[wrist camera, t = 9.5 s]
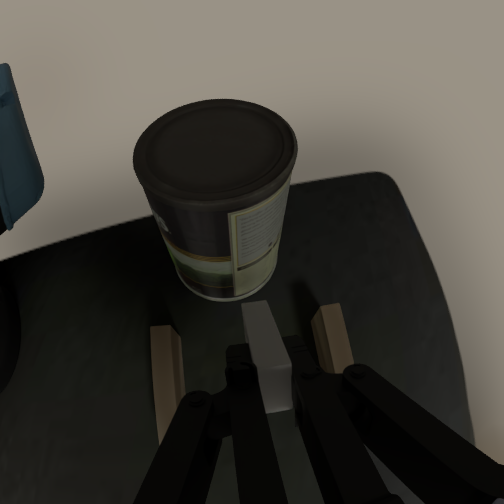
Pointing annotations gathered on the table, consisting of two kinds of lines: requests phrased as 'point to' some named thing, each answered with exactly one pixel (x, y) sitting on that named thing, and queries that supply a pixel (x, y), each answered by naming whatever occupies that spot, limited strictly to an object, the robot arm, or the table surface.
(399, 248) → the table surface
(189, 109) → the coffee can
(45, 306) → the table surface
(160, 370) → the chute
